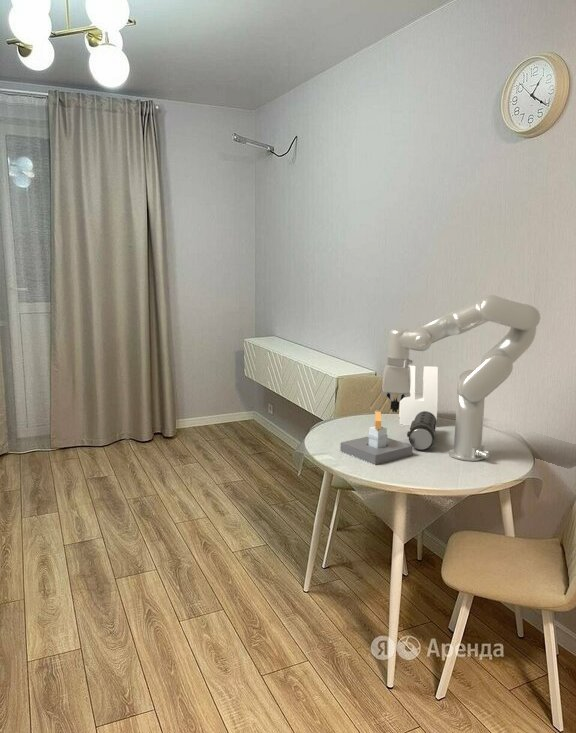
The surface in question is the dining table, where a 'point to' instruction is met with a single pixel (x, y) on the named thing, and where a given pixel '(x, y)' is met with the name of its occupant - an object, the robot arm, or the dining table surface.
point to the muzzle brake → (422, 431)
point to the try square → (377, 419)
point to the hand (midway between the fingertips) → (394, 411)
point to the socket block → (376, 450)
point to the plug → (377, 437)
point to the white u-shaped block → (420, 396)
